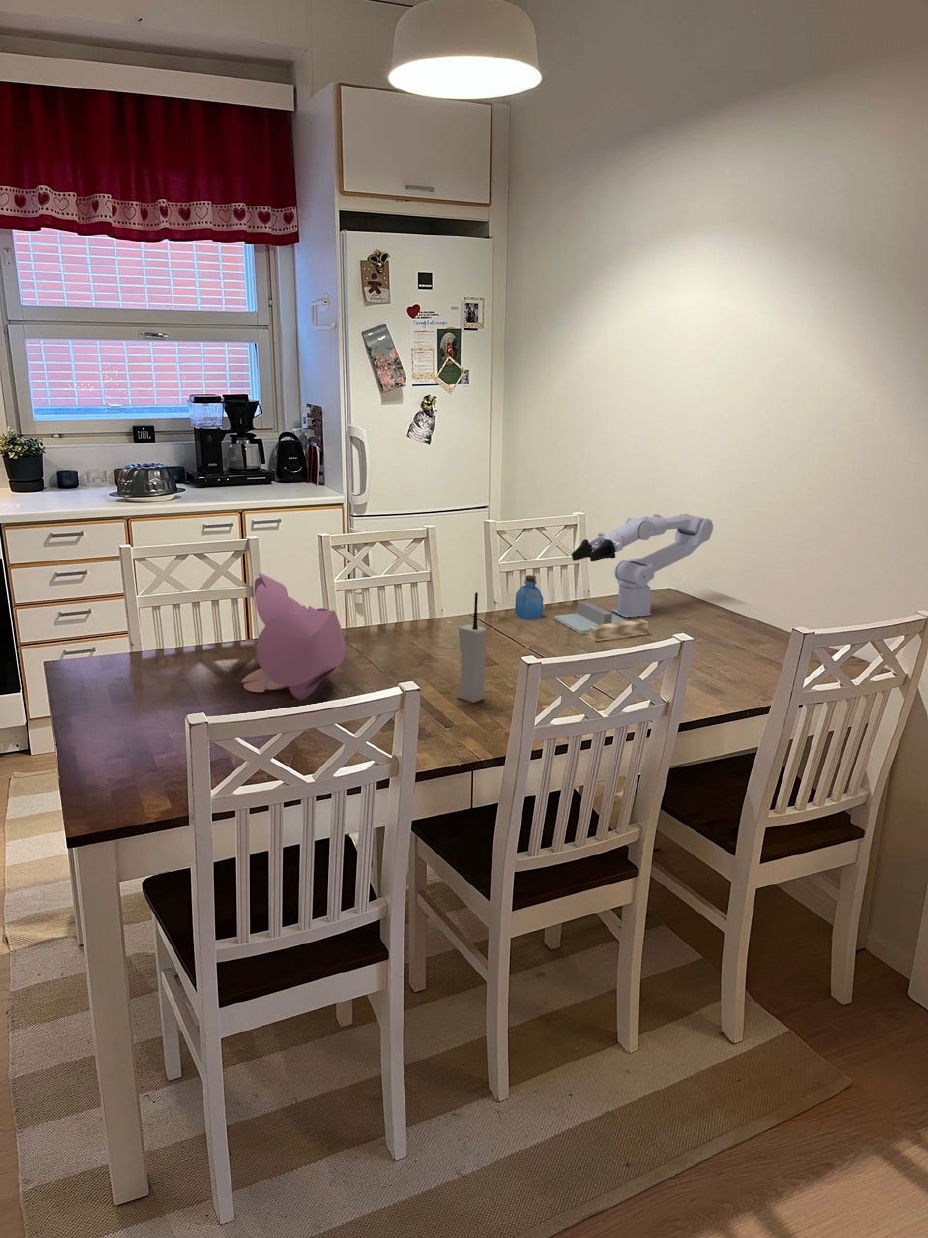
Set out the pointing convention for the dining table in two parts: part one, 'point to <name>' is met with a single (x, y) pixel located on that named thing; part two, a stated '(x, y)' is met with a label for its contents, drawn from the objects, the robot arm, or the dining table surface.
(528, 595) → the perfume bottle
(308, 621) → the purple toy bird
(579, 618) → the stand
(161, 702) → the dining table surface
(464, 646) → the vintage mobile phone
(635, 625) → the ash batten
